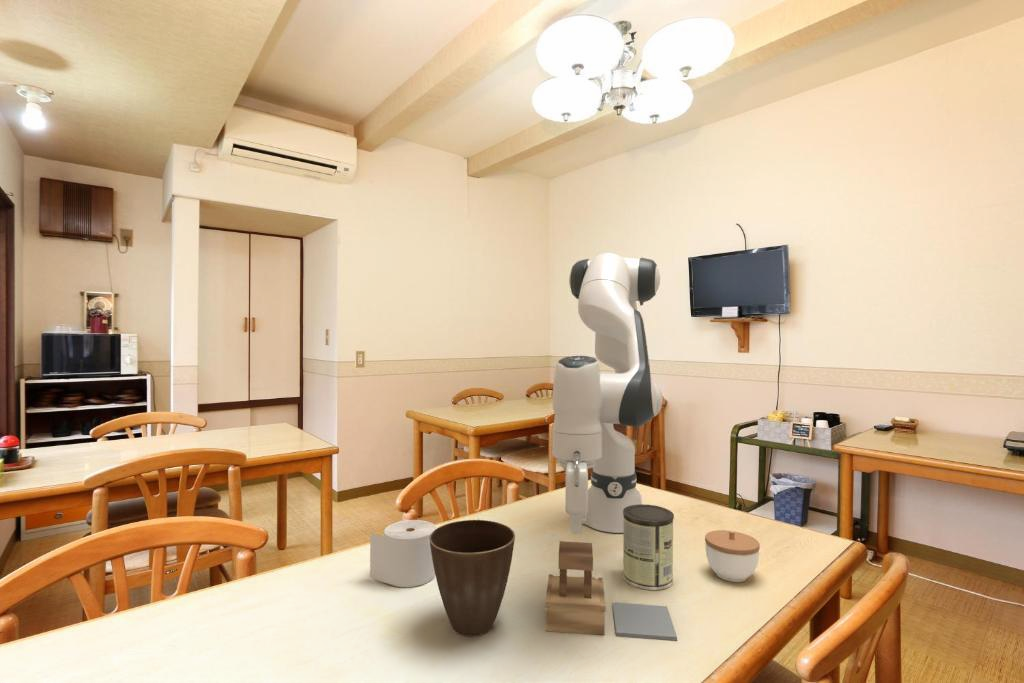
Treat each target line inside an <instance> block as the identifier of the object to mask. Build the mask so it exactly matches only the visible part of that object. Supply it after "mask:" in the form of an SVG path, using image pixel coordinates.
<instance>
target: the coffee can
mask: <svg viewBox="0 0 1024 683" xmlns="http://www.w3.org/2000/svg"><path fill="white" fill-rule="evenodd" d="M623 515H624V528H623V533H622V534H623V540H622V541H623V547H622V548H623V549H622V550H623V556H622V557H623V562H622V564H623V565H622V566H623V572H622V577H623V579H624V581H625V583H627V584H629V585H631V586H632V587H635V588H637V589H641V590H644V591H645V590H647V591H661V590H665V589H668V588H670V587H671V586H672V585H673V583H674V579H673V578H674V577H673V576H674V574H673V573H674V572H673V570H674V563H673V562H674V560H673V559H674V553H673V552H674V548H673V547H674V519H675V514H674V513H673V512H672V510H670V509H668V508H666V507H662V506H659V505H652V504H643V503H642V504H640V505H631V506H628V507H626V508H624V509H623Z"/></svg>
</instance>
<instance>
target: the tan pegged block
mask: <svg viewBox="0 0 1024 683" xmlns="http://www.w3.org/2000/svg"><path fill="white" fill-rule="evenodd" d="M557 563H558V567H557V568H558V570H559V576H560V577H559V596H560V597H566V585H567V575H568V570H569V571H571V570H573V571H574V570H575V571H583V577H584V598H589V599H591V592H592V578H593V577H592V573H593V571H594V552H593V543H592V542H579V541H563V540H562V541H561V540H560V541H559V544H558V561H557Z"/></svg>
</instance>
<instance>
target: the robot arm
mask: <svg viewBox="0 0 1024 683" xmlns="http://www.w3.org/2000/svg"><path fill="white" fill-rule="evenodd" d="M660 283H661V274H660V270H659V268H658V264H657V263H656V261H654V260H653V259H650V258H646V257H645V258H644V257H640V258H637V257H635V258H634V257H625V256H623V257H622V256H620V255H619V254H616V253H612V252H604V253H599V254H598V255H596V256H595V257H594V258H592V259H589V258H586V259H581V260H578V261H576V262H575V263H574V264H573V265H572V267H571V270H570V274H569V278H568V284H569V288H570V292H571V294H572V296H573V297H574V298H575V299H576V300H577V302H578V303H577V311H578V316H579V318H580V320H581V322H582V323H583V324H584V325H585V326H586V327H587V328H589V330H591V331H592V332H594V333H595V334H594V335H595V338H594V353H595V356H596V358H595V357H592V356H589V355H587V356H586V355H572V356H565V357H562V358H561V359H559V360H557V362H556V365H555V371H554V378H553V383H552V384H553V386H552V409H553V412H554V420H553V425H552V431H551V432H552V437H551V439H552V440H551V442H552V446H551V447H552V449H551V453H552V454H551V455H552V457H553V458H555V459H558V465H559V466H560V467H561V468H563V469H565V492H564V493H565V497H564V498H565V501H564V503H565V505H564V507H565V512H566V514H567V515H570V516H569V517H570V532H571V534H572V535H576V536H577V535H581V534H582V532H583V530H582V529H583V527H582V526H583V525H586V526H588V527H590V528H591V529H594V530H597V531H601V532H605V533H614V534H615V533H616V534H617V533H619V534H621V533H622V534H623V528H624V515H623V509H624V508H626V507H628V506H631V505H640V504H643V498H642V494H641V493H640V492H639V490H638V489H637V487H636V486H637V481H638V479H637V478H638V477H637V472H636V471H635V469H636V466H635V462H636V460H635V457H636V453H635V452H636V450H635V449H636V447H635V445H634V442H633V440H632V439H630V437H628V436H627V435H626V434H623V433H622V432H620V431H617V430H616V429H615V428H614V427H615V426H614V424H615V425H621V426H627V427H633V428H641V427H642V426H644V425H646V424H647V423H648V422H650V421H651V420H652V419H653V418H654V417H656V416H657V415H658V414H659V413H660V411H661V410H662V406H663V401H664V399H663V393H662V390H661V389H660V387H659V386H658V384H657V383H656V382H654V380H653V379H652V374H651V370H650V369H651V368H650V367H651V366H650V356H649V350H648V340H647V335H646V331H645V330H646V329H645V324H644V319H643V316H642V314H641V312H640V311H639V310H638V306H637V302H639V304H640V306H643V305H644V303H645V302H648V301H650V300H652V299H653V298H654V297H655V296H656V295H657V292H658V290H659V288H660ZM599 362H600V363H602V364H604V365H606V366H607V367H610V368H611V369H613V370H614V372H615V373H614V372H613V373H611V372H610V373H609V372H601V371H600V364H599ZM589 469H591V471H590V484H591V486H590V487H589Z"/></svg>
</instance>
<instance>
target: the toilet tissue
mask: <svg viewBox="0 0 1024 683" xmlns="http://www.w3.org/2000/svg"><path fill="white" fill-rule="evenodd" d="M435 529H437V528H436V525H435V524H434V523H432V522H430V521H427V520H426V521H425V520H420V519H410V520H409V519H407V520H405V519H404V520H400V521H397V522H394V523H391V524H389V525H388V526H386V528H384V532H383V533H384V534H383V535H380V534H377V533H374V532H372V531H370V532H369V535H370V539H369V541H370V542H369V544H370V546H369V547H370V548H369V550H370V551H369V552H370V553H369V554H370V555H369V558H370V560H369V562H370V564H369V566H370V570H369V577H370V578H372V579H374V580H375V581H379V582H381V583H385V584H388V585H390V586H393V587H397V588H414V587H418V585H419V586H422V585H425V584H427V583H429V582H430V581H432V580H433V579H434V578H435V577H436V576H435V571H434V566H433V560H432V554H431V547H430V540H429V537H430V535H431V533H432V532H433V531H434V530H435Z"/></svg>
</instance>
